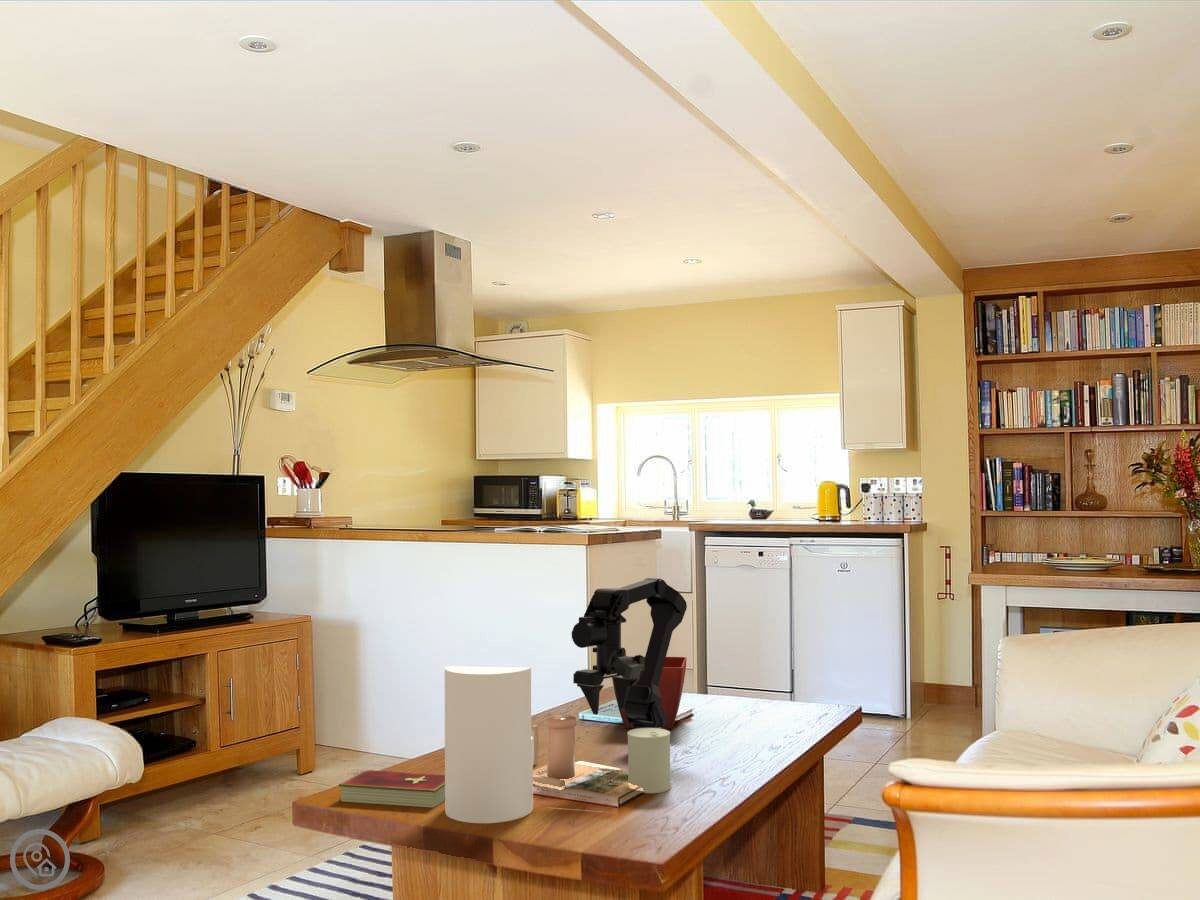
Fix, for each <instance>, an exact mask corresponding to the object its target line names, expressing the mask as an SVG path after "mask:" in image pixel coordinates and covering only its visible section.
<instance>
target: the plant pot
mask: <svg viewBox="0 0 1200 900" xmlns="http://www.w3.org/2000/svg"><path fill="white" fill-rule="evenodd" d="M632 657H633V658H634V656H632ZM643 657H644V659H645V656H643ZM687 661H688V659H687V657H685V656H666V659H665V662H664V666H663V670H662V674H661V678H660V682H659V686H658V688H659V691H660V695H661V698H662V700H661V707H662V708H663V710H664V711H665V713H666V714H667V716H668V718H667V724H666V725H664V727H661V729H665V730H671V729H673V727H674V725H675V723H676V720H675V719H677V716H678V711H679V708H680V704H681V699H682V695H683V689H684V683H685V677H686V676H685V675H686V668H687ZM611 680H612V685H613V691H614V694H615V696H614V697H615V699H616V704H617V708H618V712H619V714H620V718H621V720H622V723H623V726H624V728H625V729H633V724H628V723H627V719H626V714H625V710H624V708H623V709H620V708H619V705H618V701H617V696H616V690H615V685H614V679H613V677H611ZM637 682H638V681H636V682H635V683H634V684H633V685H635V684H636V683H637Z"/></svg>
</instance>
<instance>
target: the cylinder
mask: <svg viewBox="0 0 1200 900" xmlns="http://www.w3.org/2000/svg"><path fill="white" fill-rule="evenodd" d="M531 731H532V667H520V666H519V667H518V666H517V667H515V666H514V667H513V666H512V667H511V666H507V667H506V666H470V665H469V666H468V665H467V666H459V665H458V666H457V665H455V666H454V665H447V666H445V667H444V775H445V800H444V813H445V815H446V817H448V818H449V819H452V820H455V821H457V822H464V823H468V824H469V823H471V824H493V823H494V824H496V823H497V824H498V823H504V822H511V821H515V820H518V819H521V818H524V817H526V816H528V815H529V814H530V813H532V811H533V809H534V785H533V774H534V771H533V770H534V765H533V737H532V736H531Z"/></svg>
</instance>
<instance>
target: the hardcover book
mask: <svg viewBox="0 0 1200 900" xmlns="http://www.w3.org/2000/svg"><path fill="white" fill-rule="evenodd" d="M338 787H341V791H340V792H341V793H340V794H341V795H340V796H341V797H340V799H341V800H340V801H341V802H344V803H345V802H346V803H359V804H360V803H361V804H371V805H372V804H375V805H376V804H377V805H387V806H389V805H390V806H392V805H393V806H403V807H416V808H417V807H420V808H436V807H437V806H438V805H440V804H441V803H442V802H443V801H445V774H441V773H439V774H438V773H420V772H407V771H405V772H404V771H403V772H402V771H391V770H389V771H387V770H373V769H364V770H361V771H360V772H359V773H356V774H355V775H353V776H351V777H349V778H347V779H346V780H344V781H342V782H341V783H338Z"/></svg>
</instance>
